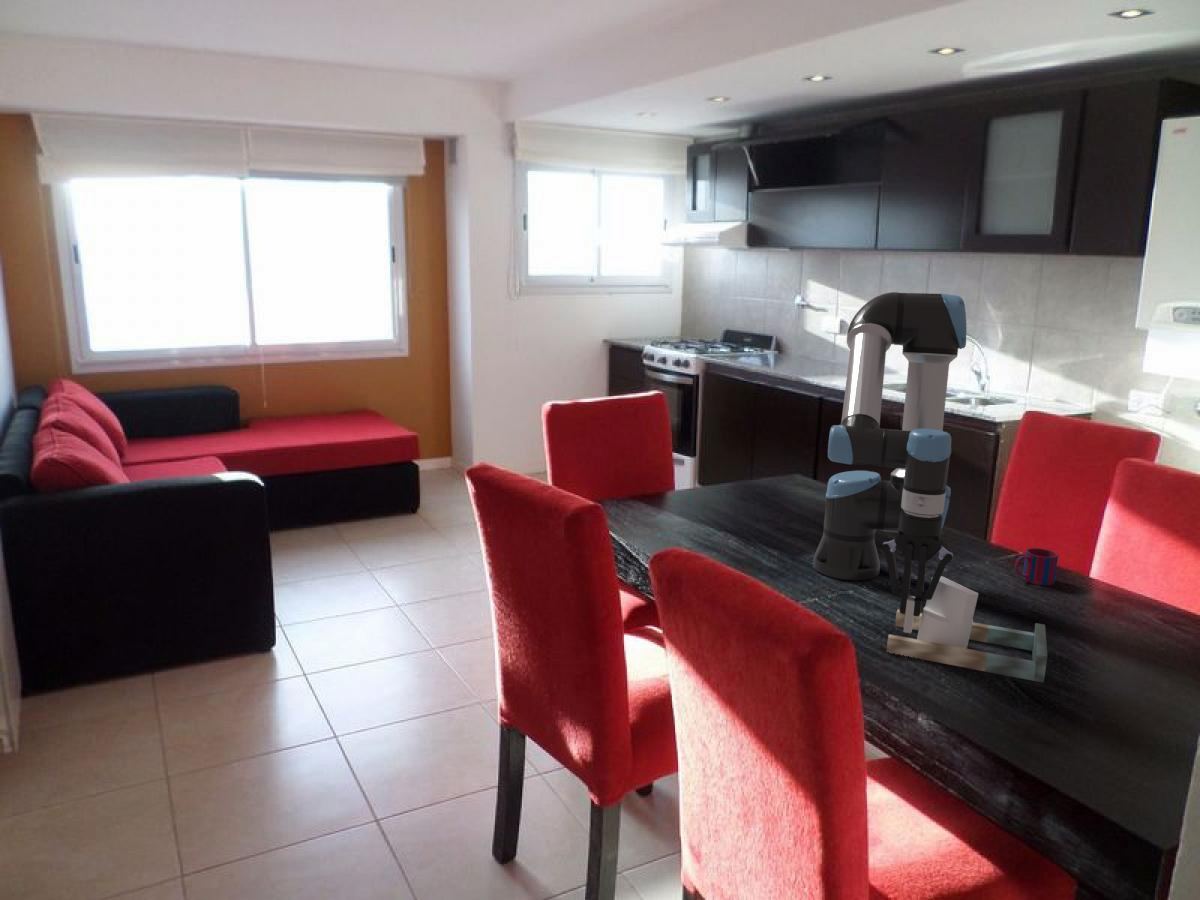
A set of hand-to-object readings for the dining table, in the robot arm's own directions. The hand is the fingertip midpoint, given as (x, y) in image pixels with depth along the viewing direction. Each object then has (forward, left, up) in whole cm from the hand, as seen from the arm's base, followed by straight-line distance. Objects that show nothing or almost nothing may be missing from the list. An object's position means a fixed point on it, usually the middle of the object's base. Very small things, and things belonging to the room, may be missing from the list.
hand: (908, 630), depth 173 cm
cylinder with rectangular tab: (+6, +1, -2) cm, 7 cm away
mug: (+23, +49, -3) cm, 54 cm away
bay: (+10, +1, -2) cm, 10 cm away
